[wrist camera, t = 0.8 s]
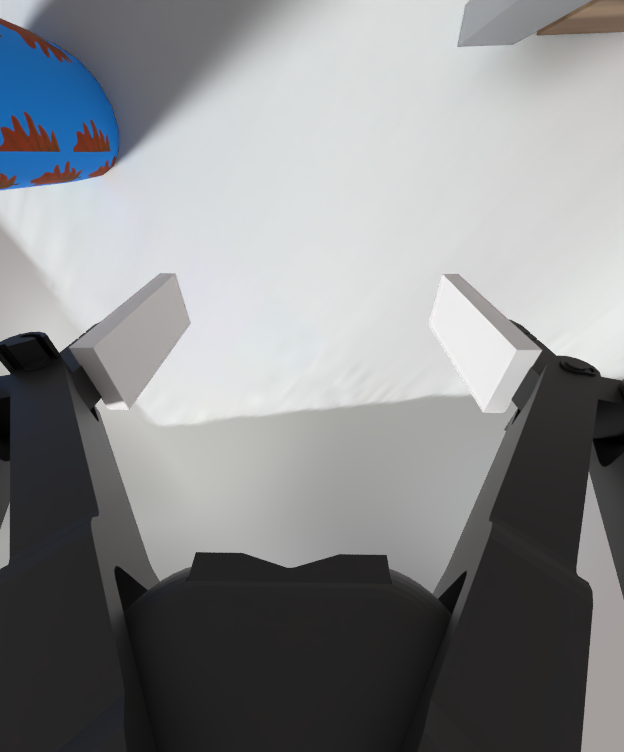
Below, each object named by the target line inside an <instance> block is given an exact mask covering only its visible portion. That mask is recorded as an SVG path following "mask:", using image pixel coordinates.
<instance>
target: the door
mask: <svg viewBox="0 0 624 752" xmlns="http://www.w3.org/2000/svg"><path fill="white" fill-rule="evenodd" d="M608 32H624V0H592V1H590V2H588V3H586V4H585V5H583V6H581V7H579V8H577V9H576V10H574V11H572V12H570V13H568V14H567V15H565V16H563V17H561V18H560V19H558V20H556V21H554V22H552V23H551V24H549V25H547V26H545V27H543V28H542V29H540V30H538V31H537V35H557V34H582V33H608Z"/></svg>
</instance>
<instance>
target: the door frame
mask: <svg viewBox="0 0 624 752" xmlns="http://www.w3.org/2000/svg"><path fill="white" fill-rule="evenodd" d="M590 1H592V0H470V1H469V2H468V3H467V4H466V5H465V10H464V15H463V21H462V26H461V31H460V36H459V41H458V46H457V47H462V46H488V45H513V44H515V43H517V42H518V41H520V40H522V39H524V38H526V37H527V36H529V35H531V34H533V33H534V32H536V31H538V30H540V29H542V28H543V27H545V26H547V25H549V24H551V23H552V22H554V21H556V20H558V19H560V18H561V17H563V16H565V15H567V14H568V13H570V12H572V11H574V10H576V9H577V8H579V7H581V6H583V5H585V4H586V3H588V2H590Z"/></svg>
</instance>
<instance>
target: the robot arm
mask: <svg viewBox="0 0 624 752" xmlns="http://www.w3.org/2000/svg"><path fill="white" fill-rule="evenodd" d="M190 324H191V323H190V320H189V317H188V313H187V310H186V307H185V304H184V300H183V297H182V294H181V290H180V287H179V284H178V280H177V277H176V274H159V275H158V276H156V277H155V278H154V279H153V280H151V281H150V282H149V283H148V284H146V285H145V286H144V287H143V288H142V289H140V290H139V291H138V292H137V293H135V294H134V295H133V296H132V297H130V298H129V299H128V300H127V301H126V302H124V303H123V304H122V305H121V306H119V307H118V308H117V309H116V310H115V311H113V312H112V313H111V314H110V315H108V316H107V317H106V318H105V319H103V320H102V321H101V322H99V323H97V324H95V325H94V326H92V327H91V328H90V329H89V330H87V331H86V333H84V334H82V335H81V336H80V337H79V339H76V340H75V341H74V342H73V343H72V344H70V345H69V346H68V347H66V348H65V349H64V350H62V351H61V352H60V353H59V352H58V351H57V349H56V348H55V346H54V345H53V343H52V342H51V341H50V339H49V337H48V336H47V335H46V334H45V333H42V332H29V333H24V334H19V335H16V336H13V337H10V338H8V339H5V340H3V341H1V342H0V361H1V362H2V363H3V365H4V366H5V367H6V368H7V369H8V371H9V372H10V375H5V376H0V527H1V525H2V522H3V519H4V516H5V513H6V510H7V508H8V505H9V502H10V560H9V564H8V565H7V566H5V567H3V568H1V569H0V752H581V743H582V731H583V719H584V707H585V695H586V694H585V693H586V682H587V670H588V658H589V646H590V634H591V622H592V610H593V596H592V595H593V594H592V589H591V587H590V585H589V583H588V582H587V581H585V580H584V579H582V578H581V577H579V576H578V575H577V573H576V565H577V556H578V549H579V542H580V534H581V526H582V518H583V510H584V503H585V495H586V487H587V480H588V472H590V476H591V480H592V483H593V487H594V490H595V494H596V498H597V502H598V505H599V509H600V513H601V516H602V520H603V524H604V528H605V531H606V535H607V539H608V542H609V546H610V550H611V553H612V557H613V561H614V564H615V568H616V572H617V576H618V579H619V583H620V587H621V590H622V594H623V598H624V379H623V381H621V380H615V379H610V378H605V377H601V375H600V372H599V371H598V370H597V369H596V368H595V367H593V366H592V365H590V364H588V363H587V362H584V361H582V360H579V359H577V358H572V357H568V356H556V355H555V354H554V353H553V352H552V351H550V350H549V349H548V348H547V347H546V346H545V345H544V344H542V343H541V342H540V341H539V340H537V338H536V337H534V336H533V335H532V334H530V332H529V331H528V330H526V329H525V328H524V327H523V326H522V325H520V324H518V323H516V322H514V321H512V320H508V319H507V318H506V317H505V316H504V315H503V314H502V313H501V312H500V311H499V310H497V309H496V308H495V307H494V306H493V305H492V304H491V303H490V302H489V301H488V300H486V299H485V298H484V297H483V296H482V295H481V294H480V293H479V292H478V291H477V290H475V289H474V288H473V287H472V286H471V285H470V284H469V283H468V282H467V281H465V280H464V279H463V278H462V277H461V276H460V275H459V274H443V275H442V278H441V282H440V285H439V289H438V292H437V296H436V299H435V303H434V306H433V310H432V313H431V317H430V320H429V324H428V325H429V326H430V328H431V330H432V331H433V333H434V334H435V336H436V338H437V339H438V341H439V342H440V344H441V346H442V347H443V349H444V350H445V352H446V354H447V355H448V357H449V358H450V360H451V362H452V363H453V365H454V367H455V368H456V370H457V371H458V373H459V375H460V376H461V378H462V379H463V381H464V383H465V384H466V386H467V387H468V389H469V391H470V392H471V394H472V395H473V397H474V399H475V400H476V402H477V403H478V405H479V407H480V408H481V410H482V411H483V413H504V412H505V411H506V409H507V407H508V406H509V404H510V402H511V401H513V402H514V404H515V405H516V406H517V407H518V409H517V411H516V412H515V414H514V415H513V417H512V418H511V420H510V421H509V423H508V425H507V426H506V428H505V431H506V433H505V436H504V438H503V440H502V443H501V445H500V447H499V449H498V452H497V454H496V457H495V459H494V461H493V463H492V466H491V468H490V470H489V472H488V475H487V477H486V480H485V482H484V484H483V486H482V489H481V491H480V493H479V496H478V498H477V500H476V502H475V505H474V507H473V509H472V512H471V514H470V516H469V518H468V521H467V523H466V526H465V528H464V530H463V532H462V534H461V537H460V539H459V541H458V544H457V546H456V548H455V551H454V553H453V555H452V557H451V560H450V562H449V564H448V566H447V569H446V571H445V573H444V575H443V576H442V578H441V579H440V581H439V583H438V585H437V587H436V589H435V590H434V592H433V594H432V593H430V592H429V591H428V590H427V589H425V588H424V587H423V586H421V585H420V584H419V583H417V582H416V581H414V580H412V579H411V578H409V577H407V576H405V575H403V574H401V573H399V572H397V571H394V570H391V569H389V567H388V560H387V555H345V554H344V555H343V554H340V555H336V556H333V557H329V558H326V559H322V560H319V561H315V562H312V563H308V564H305V565H302V566H298V567H294V568H286V567H283V566H280V565H277V564H274V563H271V562H268V561H265V560H261V559H258V558H255V557H252V556H250V555H247V554H244V553H202V552H198V553H197V552H196V554H195V557H194V561H193V564H192V567H189V568H186V569H184V570H181V571H179V572H177V573H174V574H172V575H171V576H169V577H167V578H165V579H163V580H162V581H161V582H160V581H159V579H158V578H157V576H156V574H155V573H154V571H153V569H152V567H151V565H150V562H149V560H148V557H147V554H146V551H145V548H144V545H143V542H142V539H141V536H140V533H139V530H138V527H137V524H136V521H135V518H134V515H133V512H132V509H131V506H130V503H129V500H128V497H127V494H126V491H125V488H124V485H123V482H122V479H121V476H120V473H119V470H118V467H117V464H116V461H115V457H114V454H113V451H112V449H111V446H110V443H109V439H108V436H107V434H106V430H105V427H104V424H103V421H102V418H101V415H100V412H99V411H98V410H97V408H96V407H95V404H96V403H97V402H98V401H99V400H100V399H101V398H102V400H103V401H104V403H105V405H106V406H107V408H108V409H110V410H129V409H130V408H131V406H132V405H133V404H134V402H135V401H136V399H137V398H138V397H139V395H140V394H141V392H142V391H143V390H144V388H145V387H146V385H147V384H148V383H149V381H150V380H151V378H152V377H153V375H154V374H155V373H156V371H157V370H158V368H159V367H160V366H161V364H162V363H163V361H164V360H165V359H166V357H167V356H168V354H169V353H170V352H171V350H172V349H173V347H174V346H175V345H176V343H177V342H178V340H179V339H180V338H181V336H182V335H183V333H184V332H185V331H186V329H187V328H188V326H189V325H190Z"/></svg>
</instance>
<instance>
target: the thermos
mask: <svg viewBox="0 0 624 752" xmlns="http://www.w3.org/2000/svg"><path fill="white" fill-rule="evenodd" d="M118 151H119V131H118V127H117V124H116V120H115V117H114V113H113V110H112V107H111V105H110V103H109V101H108V99H107V98H106V96H105V94H104V92H103V90H102V88H101V87H100V85H99V83H98V82H97V81H96V80H95V78H94V77H93V76H92V75H91V74H90V73H89V71H88V70H87V69H86V68H85V67H84V66H83V65H82V63H81V62H80V61H78V60H77V59H76V58H74V57H73V56H71V55H70V54H69V53H67V52H66V51H64V50H63V49H61V48H60V47H59V46H57V45H55V44H53V43H51V42H49V41H47V40H45V39H43V38H41V37H39V36H37V35H35V34H34V33H32V32H30V31H28V30H26V29H24V28H21V27H19V26H17V25H14V24H12V23H10V22H7V21H5V20H3V19H0V190H7V189H16V188H25V187H33V186H42V185H51V184H59V183H67V182H73V181H78V180H83V179H88V178H92V177H97V176H101V175H103V174H104V173H105V172H107V171H108V170H109V169H110V168H111V167H112V166H113V165H114V162H115V159H116V157H117V154H118Z"/></svg>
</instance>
